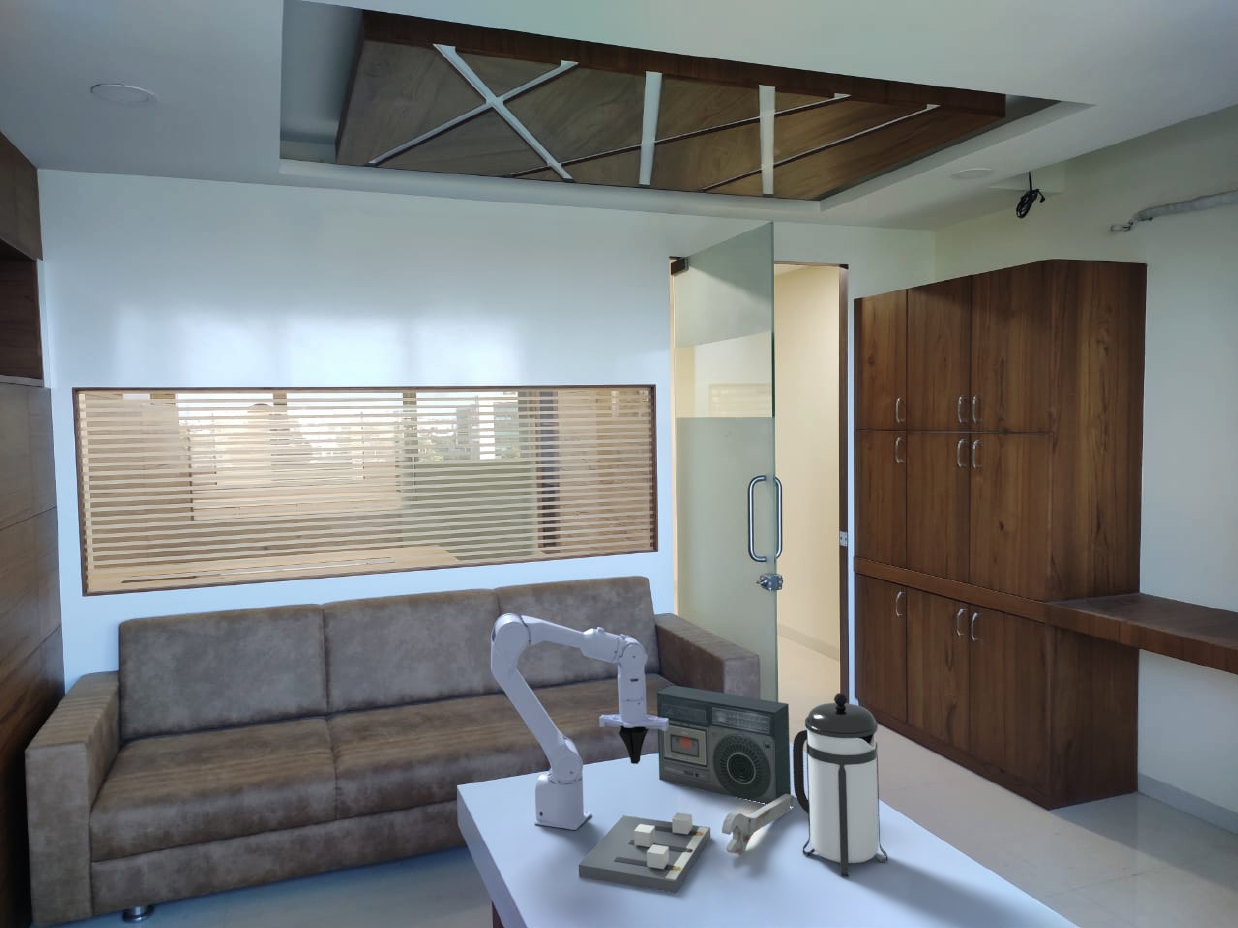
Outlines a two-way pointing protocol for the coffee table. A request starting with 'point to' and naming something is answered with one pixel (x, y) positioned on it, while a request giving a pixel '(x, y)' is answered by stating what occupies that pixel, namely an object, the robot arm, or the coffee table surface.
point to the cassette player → (724, 743)
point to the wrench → (753, 822)
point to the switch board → (644, 855)
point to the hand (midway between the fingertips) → (635, 761)
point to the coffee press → (840, 782)
